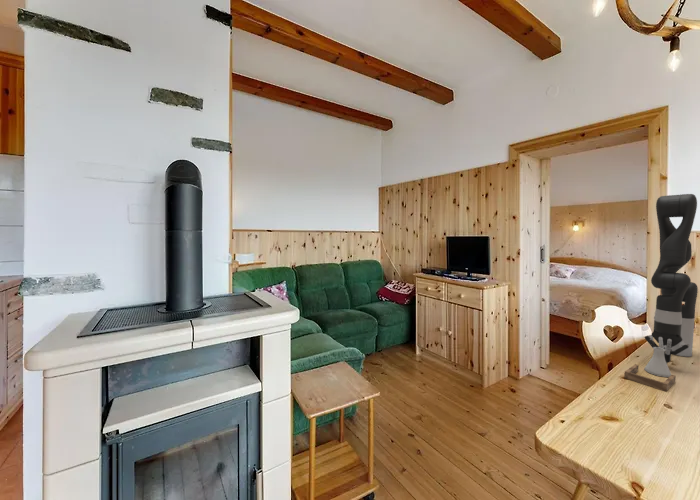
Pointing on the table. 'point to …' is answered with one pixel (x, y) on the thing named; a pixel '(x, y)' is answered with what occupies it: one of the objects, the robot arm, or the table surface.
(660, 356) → the flask
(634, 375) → the corral
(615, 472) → the table surface
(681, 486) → the table surface
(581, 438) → the table surface
